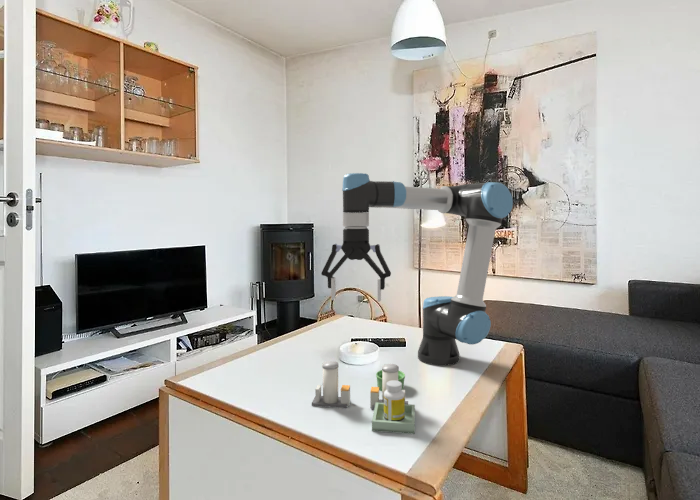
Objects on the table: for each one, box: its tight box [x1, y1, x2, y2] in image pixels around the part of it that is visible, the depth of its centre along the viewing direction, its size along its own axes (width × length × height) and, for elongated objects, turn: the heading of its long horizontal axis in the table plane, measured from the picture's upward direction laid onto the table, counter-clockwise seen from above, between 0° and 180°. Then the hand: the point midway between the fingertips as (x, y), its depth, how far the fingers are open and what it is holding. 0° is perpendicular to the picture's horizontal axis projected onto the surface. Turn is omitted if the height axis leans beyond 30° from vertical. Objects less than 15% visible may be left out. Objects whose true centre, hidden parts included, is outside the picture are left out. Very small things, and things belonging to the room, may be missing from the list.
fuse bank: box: [311, 360, 409, 411], centre depth 120 cm, size 27×5×12 cm, turn 81°
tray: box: [371, 402, 416, 435], centre depth 111 cm, size 11×11×2 cm
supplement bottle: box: [384, 380, 406, 422], centre depth 111 cm, size 5×5×10 cm
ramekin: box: [375, 369, 406, 392], centre depth 132 cm, size 9×9×4 cm
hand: (356, 300), depth 125 cm, fingers open, 13 cm apart
